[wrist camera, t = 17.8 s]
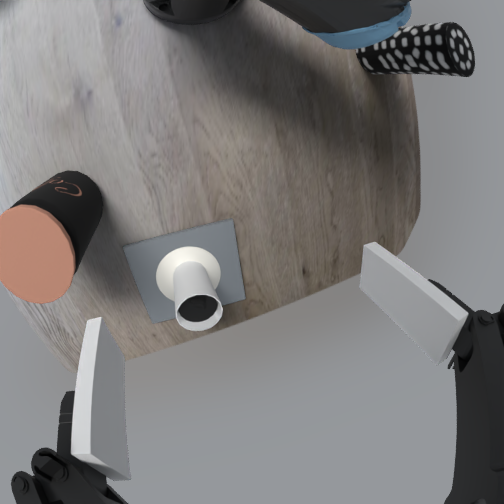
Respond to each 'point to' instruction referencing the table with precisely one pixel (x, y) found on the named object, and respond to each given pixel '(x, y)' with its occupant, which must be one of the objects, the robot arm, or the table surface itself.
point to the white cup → (195, 297)
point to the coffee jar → (48, 236)
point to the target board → (181, 250)
